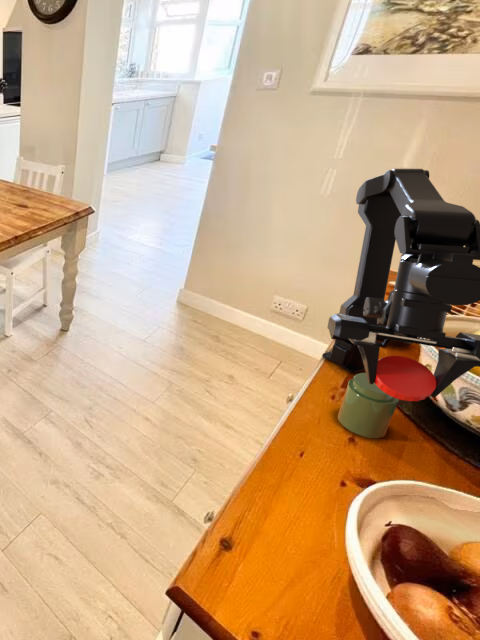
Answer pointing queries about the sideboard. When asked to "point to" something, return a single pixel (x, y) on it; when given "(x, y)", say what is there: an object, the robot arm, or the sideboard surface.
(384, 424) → the jam jar
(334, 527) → the sideboard surface
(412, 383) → the lid
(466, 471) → the sideboard surface
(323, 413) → the sideboard surface
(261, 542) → the sideboard surface
